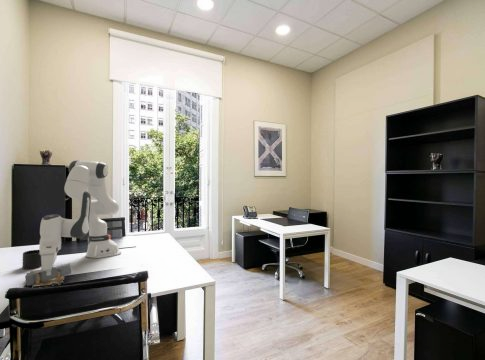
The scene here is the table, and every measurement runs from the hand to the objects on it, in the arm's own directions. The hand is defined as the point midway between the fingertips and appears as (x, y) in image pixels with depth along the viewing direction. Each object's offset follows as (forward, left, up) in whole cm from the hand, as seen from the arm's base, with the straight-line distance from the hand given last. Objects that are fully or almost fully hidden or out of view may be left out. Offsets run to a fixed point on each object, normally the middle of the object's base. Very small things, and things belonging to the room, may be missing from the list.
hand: (49, 273), depth 128 cm
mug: (+11, -34, -5) cm, 36 cm away
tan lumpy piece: (+6, -8, -5) cm, 11 cm away
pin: (+5, -22, -5) cm, 23 cm away
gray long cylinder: (0, 0, -3) cm, 3 cm away
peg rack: (0, 0, -5) cm, 5 cm away
